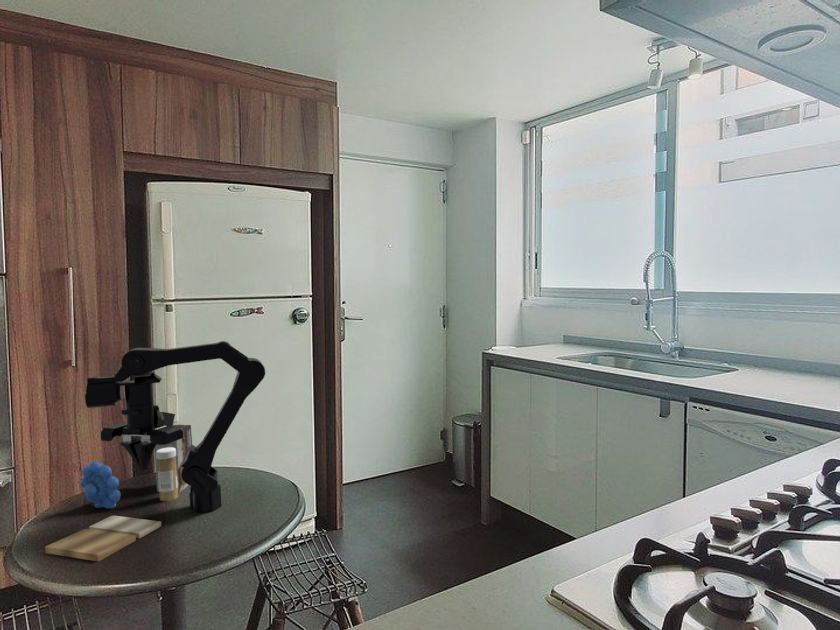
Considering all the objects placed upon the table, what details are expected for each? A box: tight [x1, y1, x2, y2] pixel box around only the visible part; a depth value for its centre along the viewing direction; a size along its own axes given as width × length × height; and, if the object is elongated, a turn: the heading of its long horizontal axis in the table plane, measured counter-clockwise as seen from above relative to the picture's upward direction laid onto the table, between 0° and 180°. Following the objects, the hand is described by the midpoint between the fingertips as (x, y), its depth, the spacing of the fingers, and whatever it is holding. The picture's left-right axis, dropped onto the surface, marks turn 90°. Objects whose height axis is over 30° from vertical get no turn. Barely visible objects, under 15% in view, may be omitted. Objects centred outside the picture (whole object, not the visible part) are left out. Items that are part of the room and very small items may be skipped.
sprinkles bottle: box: [156, 447, 179, 502], centre depth 137 cm, size 5×5×13 cm
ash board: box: [88, 515, 162, 539], centre depth 120 cm, size 14×6×2 cm, turn 72°
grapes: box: [80, 460, 122, 510], centre depth 132 cm, size 12×7×12 cm, turn 71°
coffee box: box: [154, 424, 193, 494], centre depth 147 cm, size 9×6×16 cm
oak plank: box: [44, 528, 137, 562], centre depth 112 cm, size 14×9×2 cm, turn 72°
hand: (144, 470), depth 125 cm, fingers closed
